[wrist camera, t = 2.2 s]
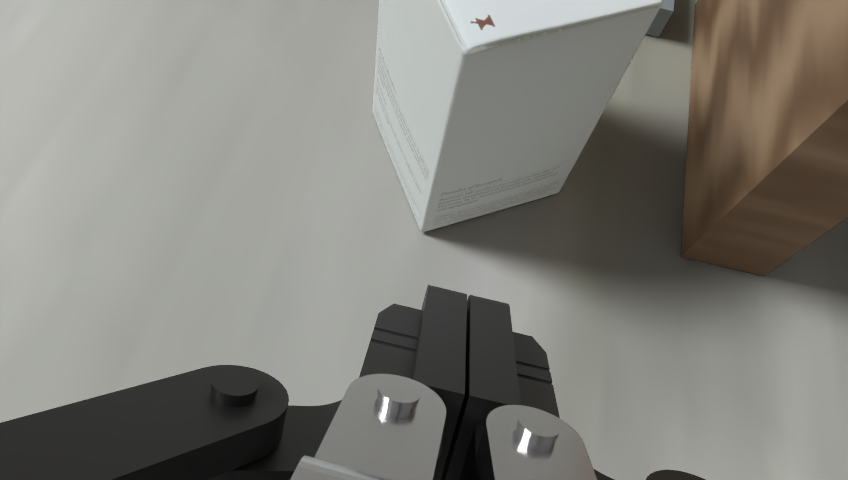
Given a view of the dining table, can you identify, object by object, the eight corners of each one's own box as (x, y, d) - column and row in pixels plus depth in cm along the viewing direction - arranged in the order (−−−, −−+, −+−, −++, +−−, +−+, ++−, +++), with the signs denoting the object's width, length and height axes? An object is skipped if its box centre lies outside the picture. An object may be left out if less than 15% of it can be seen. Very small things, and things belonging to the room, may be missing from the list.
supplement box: (563, 195, 34) (673, 6, 23) (418, 237, 32) (458, 54, 21) (504, 75, 37) (577, -149, 25) (367, 107, 35) (380, -117, 24)
